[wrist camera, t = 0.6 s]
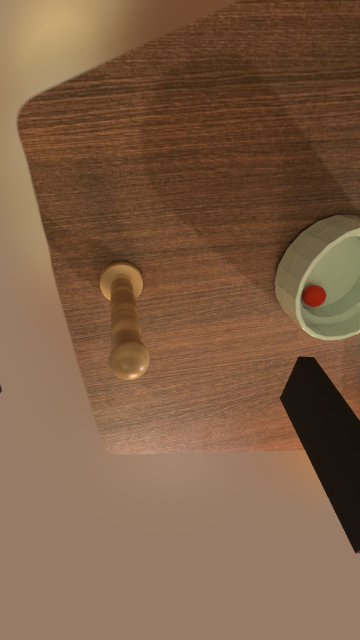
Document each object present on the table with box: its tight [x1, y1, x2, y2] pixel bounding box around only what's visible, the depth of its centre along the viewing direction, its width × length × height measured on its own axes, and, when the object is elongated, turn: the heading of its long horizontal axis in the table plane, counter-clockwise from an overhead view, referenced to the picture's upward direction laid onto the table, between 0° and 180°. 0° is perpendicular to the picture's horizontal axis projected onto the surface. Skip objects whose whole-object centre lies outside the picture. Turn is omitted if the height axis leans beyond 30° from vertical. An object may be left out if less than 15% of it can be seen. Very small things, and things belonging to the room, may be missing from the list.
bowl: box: [275, 215, 360, 340], centre depth 40 cm, size 15×15×6 cm
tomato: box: [302, 285, 326, 307], centre depth 41 cm, size 3×3×3 cm
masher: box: [100, 261, 150, 380], centre depth 30 cm, size 5×5×17 cm
